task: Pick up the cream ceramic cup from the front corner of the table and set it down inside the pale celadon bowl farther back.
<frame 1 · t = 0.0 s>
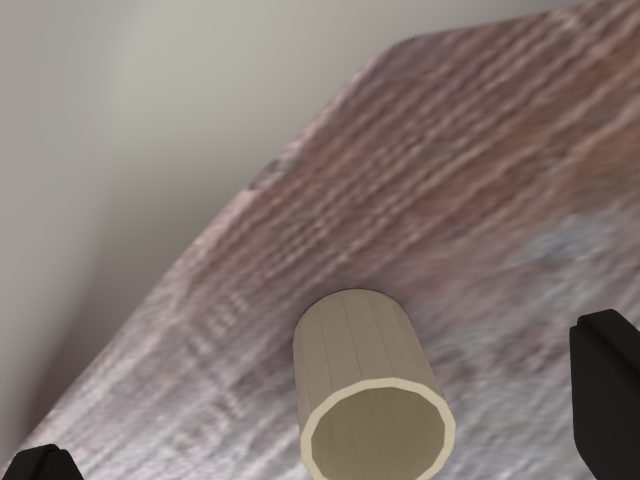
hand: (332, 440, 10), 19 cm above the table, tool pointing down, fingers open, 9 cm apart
cup: (352, 341, 32), on the table
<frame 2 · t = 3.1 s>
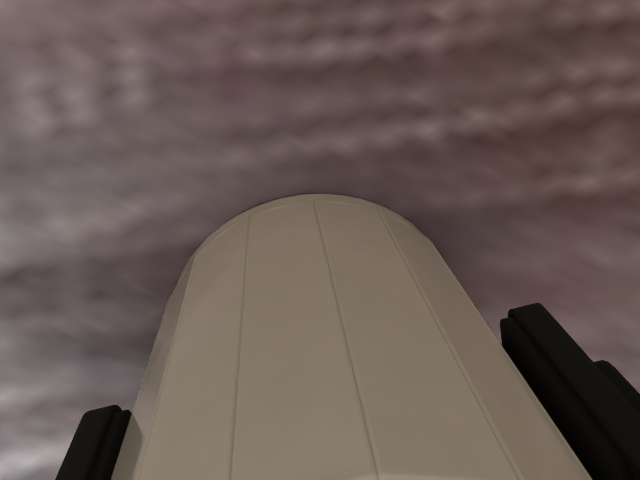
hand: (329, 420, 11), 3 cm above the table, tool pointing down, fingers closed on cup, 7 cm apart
cup: (315, 328, 14), on the table, touching gripper
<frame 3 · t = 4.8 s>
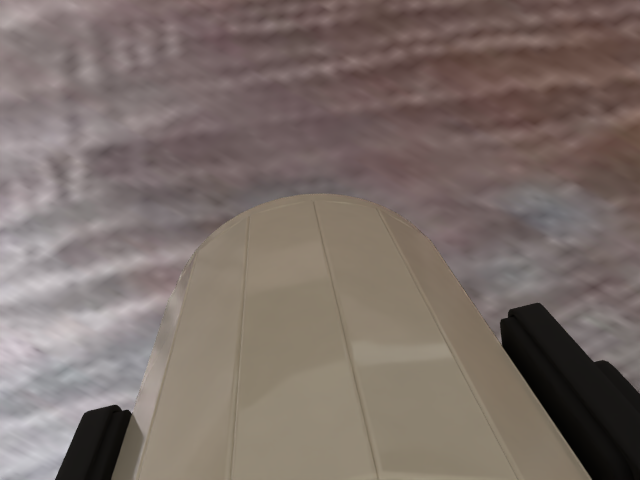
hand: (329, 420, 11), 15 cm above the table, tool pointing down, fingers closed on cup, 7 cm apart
cup: (315, 328, 14), point 12 cm above the table, touching gripper
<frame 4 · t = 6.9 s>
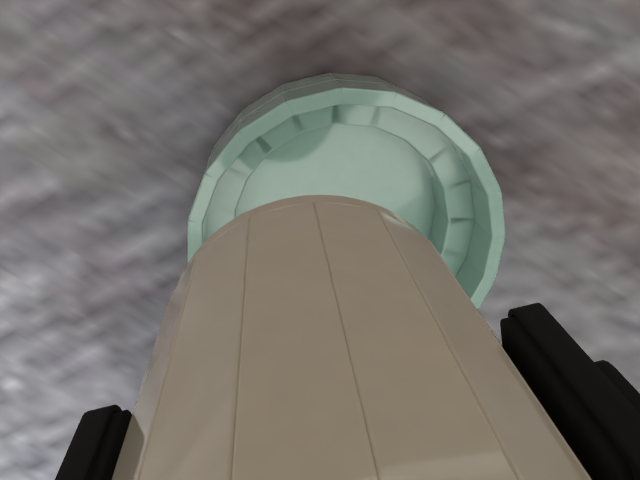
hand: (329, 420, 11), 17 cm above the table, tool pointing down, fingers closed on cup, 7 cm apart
cup: (315, 329, 14), point 14 cm above the table, touching gripper
bowl: (335, 209, 28), on the table
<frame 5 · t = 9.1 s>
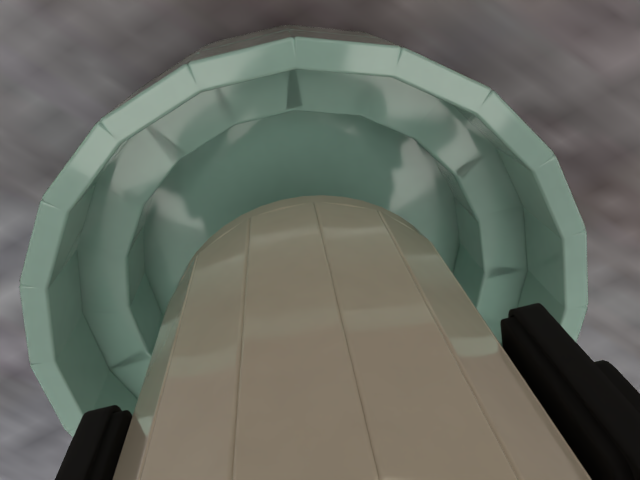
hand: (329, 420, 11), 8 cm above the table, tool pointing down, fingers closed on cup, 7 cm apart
cup: (316, 329, 14), point 5 cm above the table, touching gripper
bowl: (303, 247, 18), on the table
when the fingers open (4 cm above the table, at t = 10.7 s): cup stays where it is, resting on bowl.
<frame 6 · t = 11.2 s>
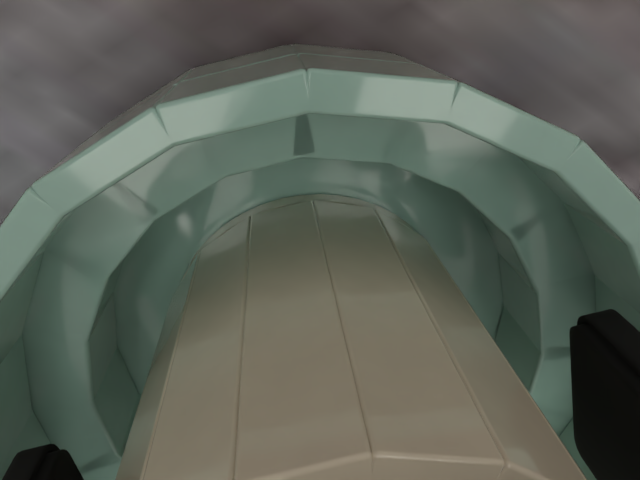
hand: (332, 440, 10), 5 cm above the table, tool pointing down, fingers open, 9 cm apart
cup: (314, 325, 14), point 1 cm above the table, touching bowl
bowl: (312, 311, 15), on the table
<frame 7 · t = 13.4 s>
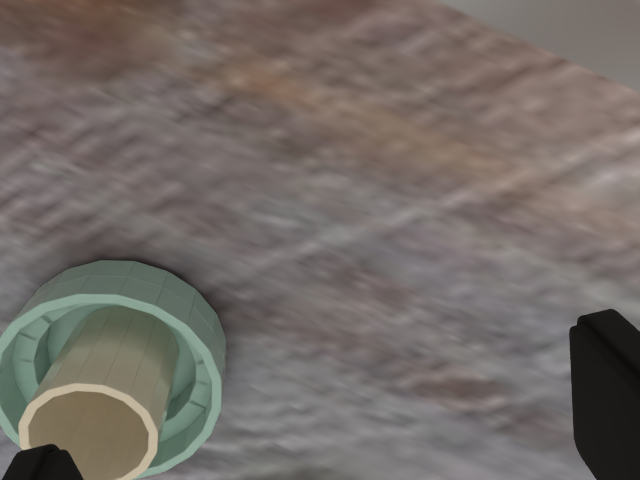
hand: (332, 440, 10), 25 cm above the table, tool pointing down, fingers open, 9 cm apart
cup: (125, 352, 37), point 1 cm above the table, touching bowl
bowl: (126, 346, 37), on the table
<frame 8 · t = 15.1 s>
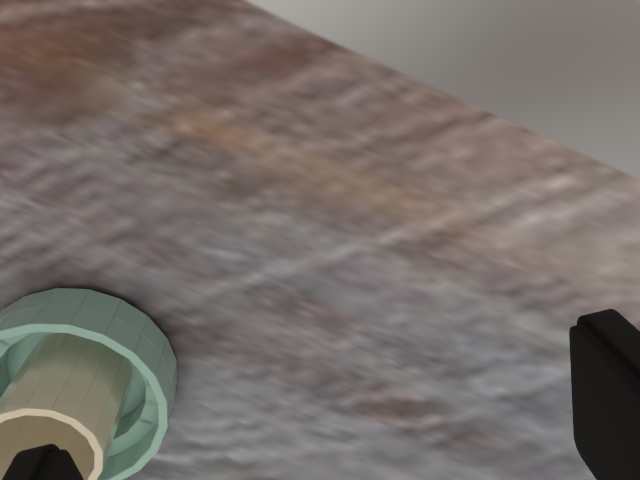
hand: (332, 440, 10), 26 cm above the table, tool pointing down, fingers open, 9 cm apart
cup: (81, 371, 39), point 1 cm above the table, touching bowl
bowl: (83, 366, 40), on the table
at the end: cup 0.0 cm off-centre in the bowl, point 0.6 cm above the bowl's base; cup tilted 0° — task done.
